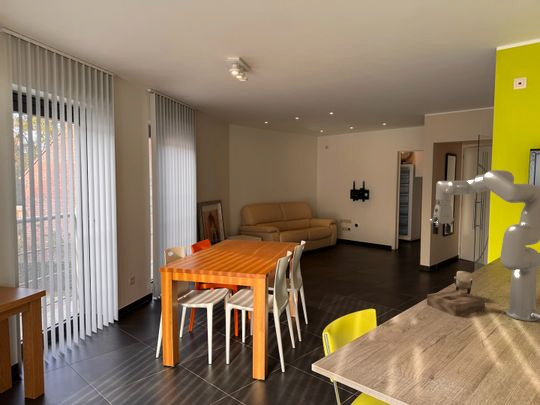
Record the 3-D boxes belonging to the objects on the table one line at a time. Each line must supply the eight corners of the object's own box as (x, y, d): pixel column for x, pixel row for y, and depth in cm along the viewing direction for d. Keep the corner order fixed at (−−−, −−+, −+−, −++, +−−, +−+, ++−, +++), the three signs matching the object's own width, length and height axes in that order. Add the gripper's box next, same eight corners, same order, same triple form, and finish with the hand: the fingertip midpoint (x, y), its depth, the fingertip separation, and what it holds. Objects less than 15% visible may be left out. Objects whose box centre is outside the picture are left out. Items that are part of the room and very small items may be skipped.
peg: (473, 296, 177) (474, 273, 176) (464, 298, 175) (465, 275, 174) (461, 293, 183) (462, 270, 182) (452, 294, 180) (453, 271, 180)
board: (484, 309, 174) (485, 299, 174) (454, 315, 166) (455, 305, 165) (455, 299, 188) (455, 289, 188) (426, 304, 180) (427, 294, 180)
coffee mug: (470, 301, 186) (471, 281, 186) (451, 297, 192) (452, 278, 191) (473, 295, 196) (474, 276, 195) (456, 292, 201) (456, 274, 200)
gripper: (437, 203, 197) (435, 235, 198) (459, 203, 204) (458, 233, 205) (426, 202, 204) (424, 233, 205) (448, 202, 211) (447, 231, 212)
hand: (441, 233), depth 205 cm, fingers open, 9 cm apart
